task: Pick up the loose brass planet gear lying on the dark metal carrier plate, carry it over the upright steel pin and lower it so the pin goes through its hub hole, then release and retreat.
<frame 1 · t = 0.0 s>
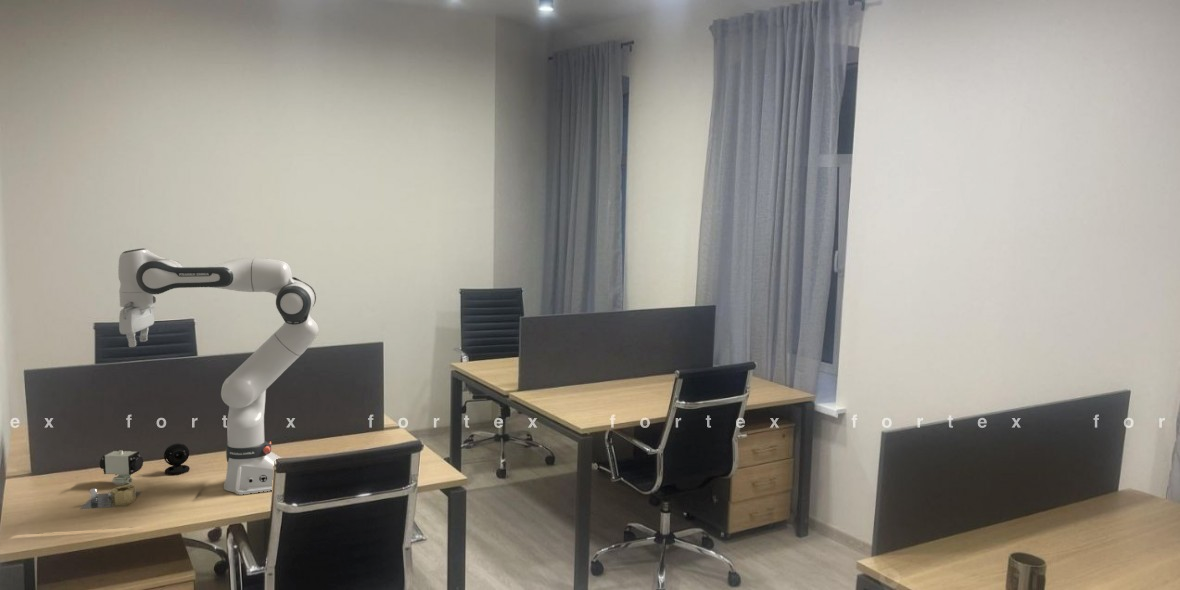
hand: (138, 343, 237), 48 cm above the table, fingers open, 8 cm apart
webcam: (177, 472, 260), on the table
carrier: (111, 503, 232), on the table
pneumatic valve: (123, 485, 246), on the table
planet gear: (123, 501, 231), point 1 cm above the table, touching carrier
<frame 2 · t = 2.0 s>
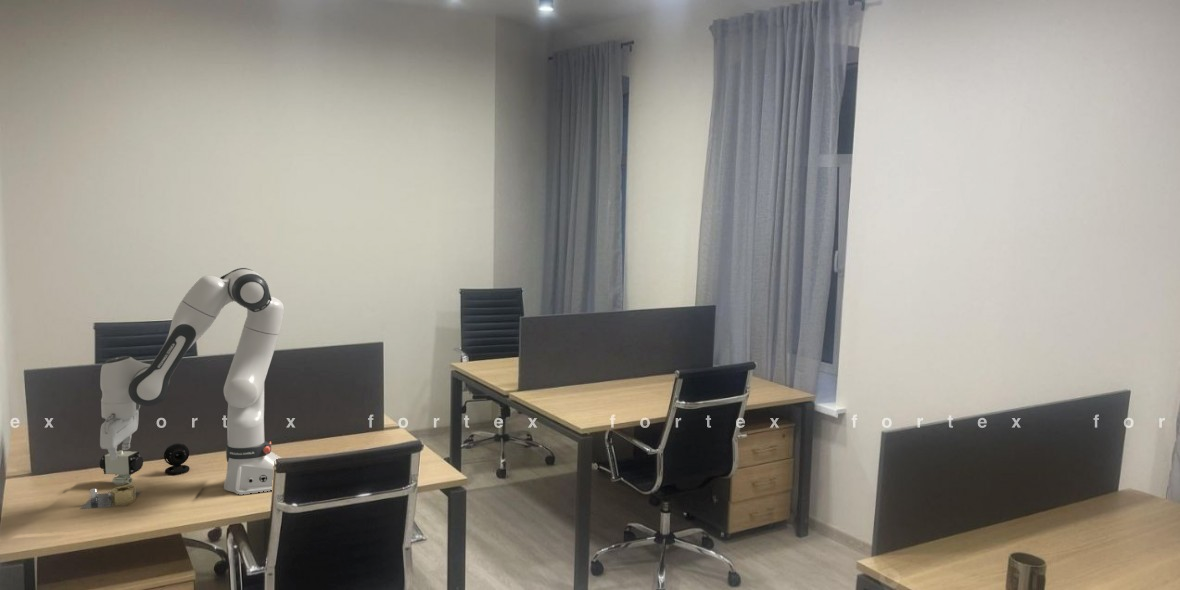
hand: (120, 454, 229), 16 cm above the table, fingers open, 8 cm apart
nothing on the table moved.
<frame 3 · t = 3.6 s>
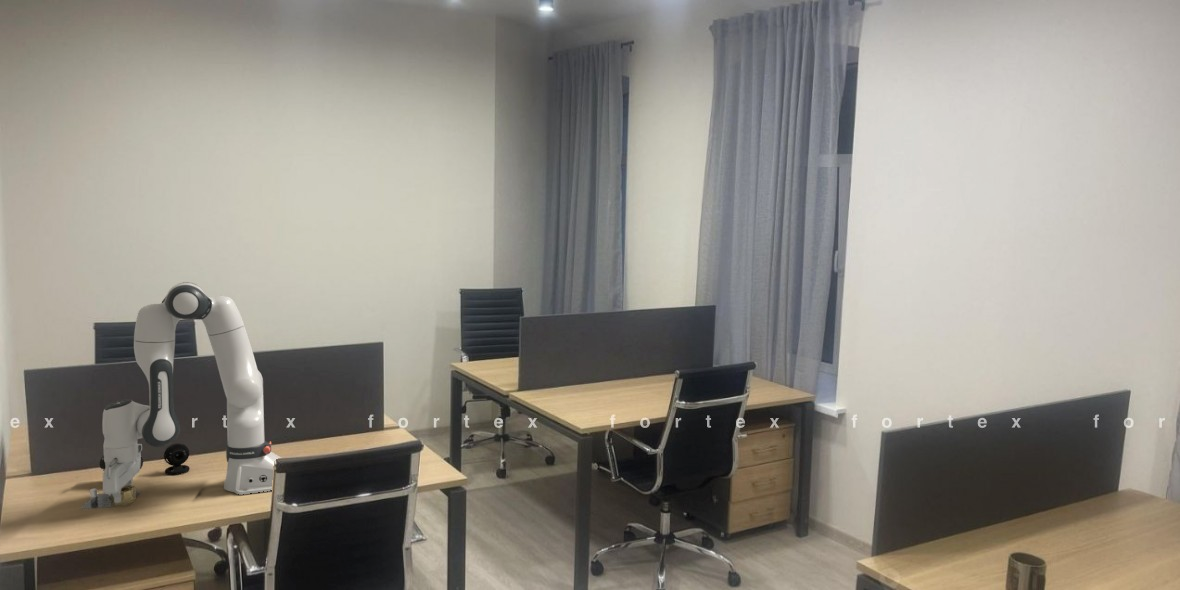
hand: (123, 497, 230), 2 cm above the table, fingers closed on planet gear, 6 cm apart
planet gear: (123, 501, 231), point 1 cm above the table, touching carrier, gripper
everything else where it was.
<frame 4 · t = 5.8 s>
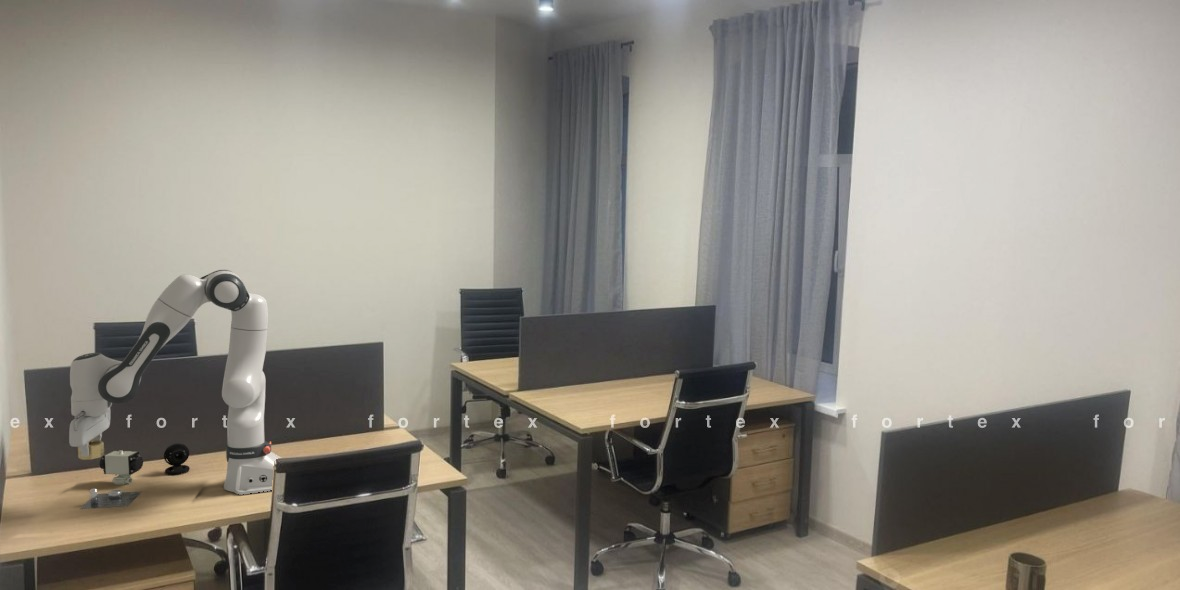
hand: (91, 452, 227), 17 cm above the table, fingers closed on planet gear, 6 cm apart
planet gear: (91, 456, 227), point 16 cm above the table, touching gripper
everything else where it was.
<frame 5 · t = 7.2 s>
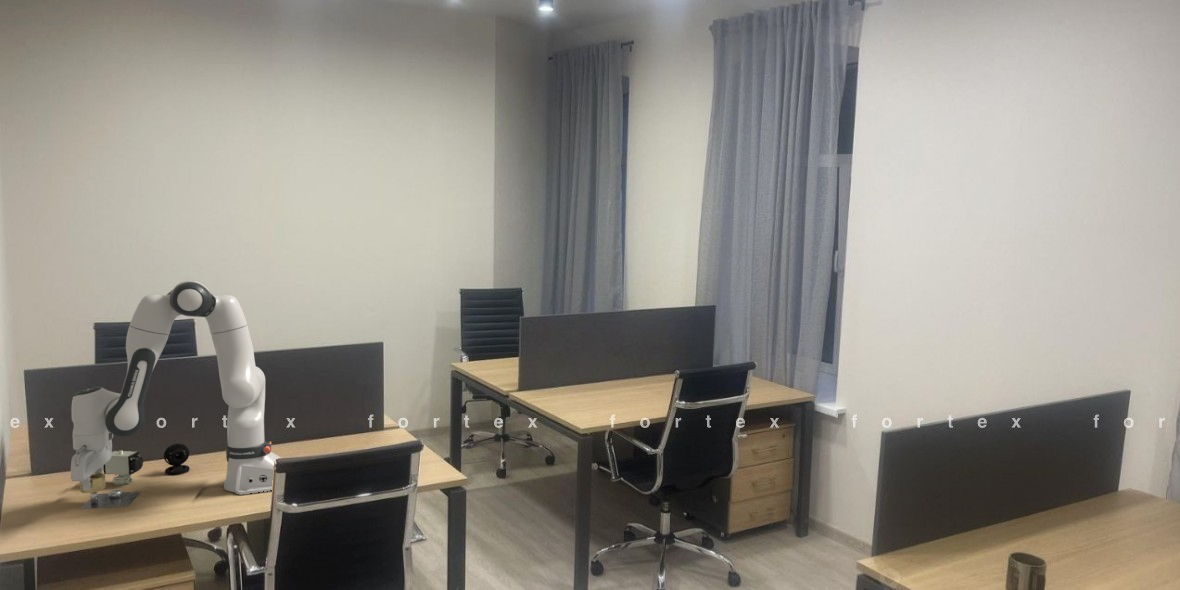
hand: (92, 485, 228), 7 cm above the table, fingers closed on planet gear, 6 cm apart
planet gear: (92, 489, 228), point 5 cm above the table, touching gripper
everything else where it was.
when the fingers open (3 cm above the table, at t = 8.3 s): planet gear drops 1 cm, resting on carrier.
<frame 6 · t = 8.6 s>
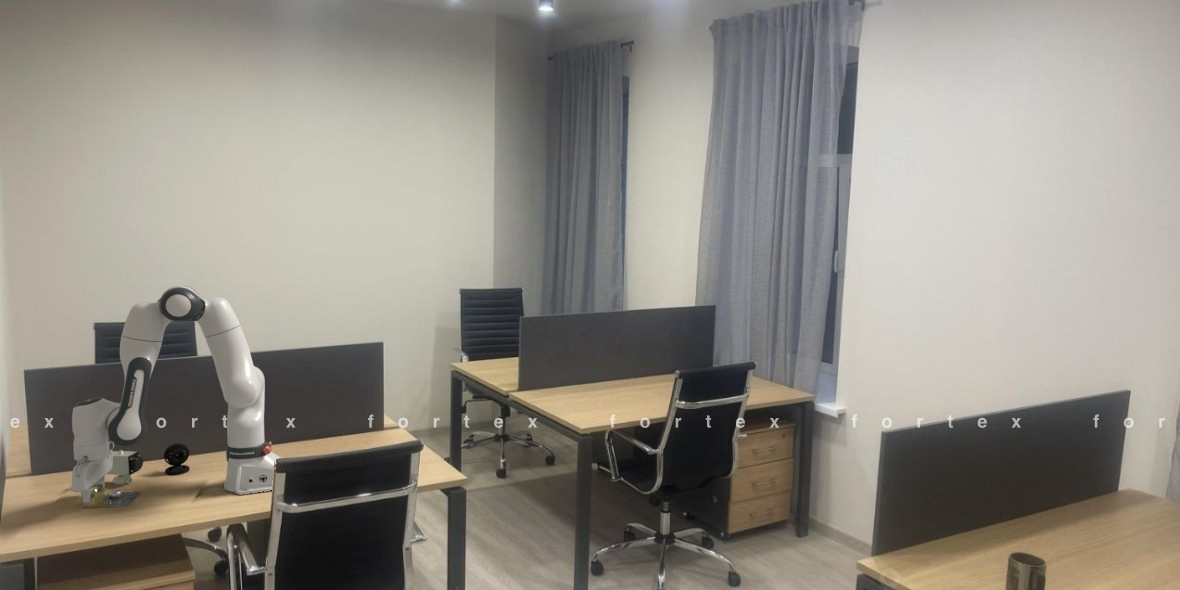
hand: (94, 495, 229), 3 cm above the table, fingers open, 8 cm apart
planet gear: (94, 503, 229), point 1 cm above the table, touching carrier
everything else where it was.
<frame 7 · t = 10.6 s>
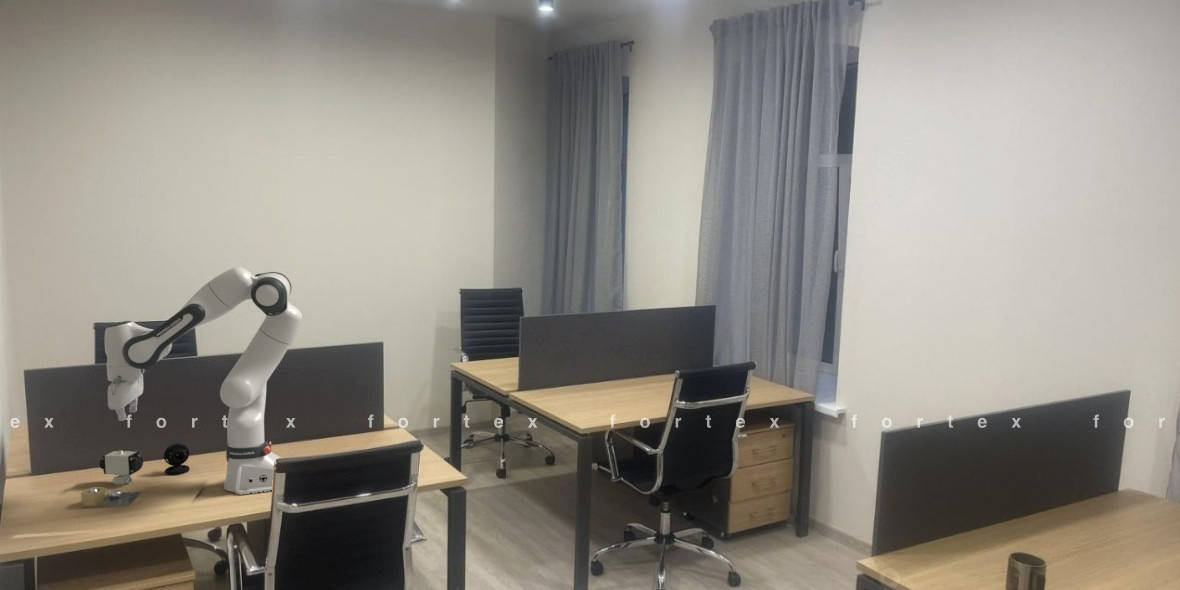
hand: (128, 416, 237), 25 cm above the table, fingers open, 8 cm apart
nothing on the table moved.
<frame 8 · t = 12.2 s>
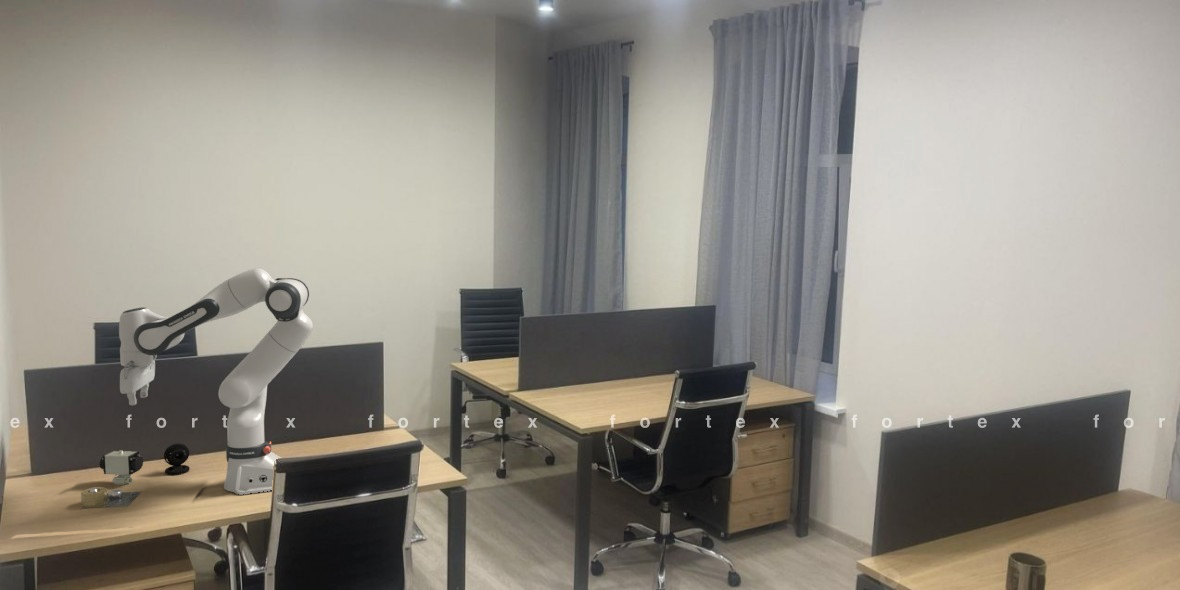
hand: (138, 400, 241), 29 cm above the table, fingers open, 8 cm apart
nothing on the table moved.
at the end: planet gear 0.1 cm from the target spot on the carrier, point 1.0 cm above the carrier's base; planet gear tilted 0°; the gripper is holding nothing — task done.
